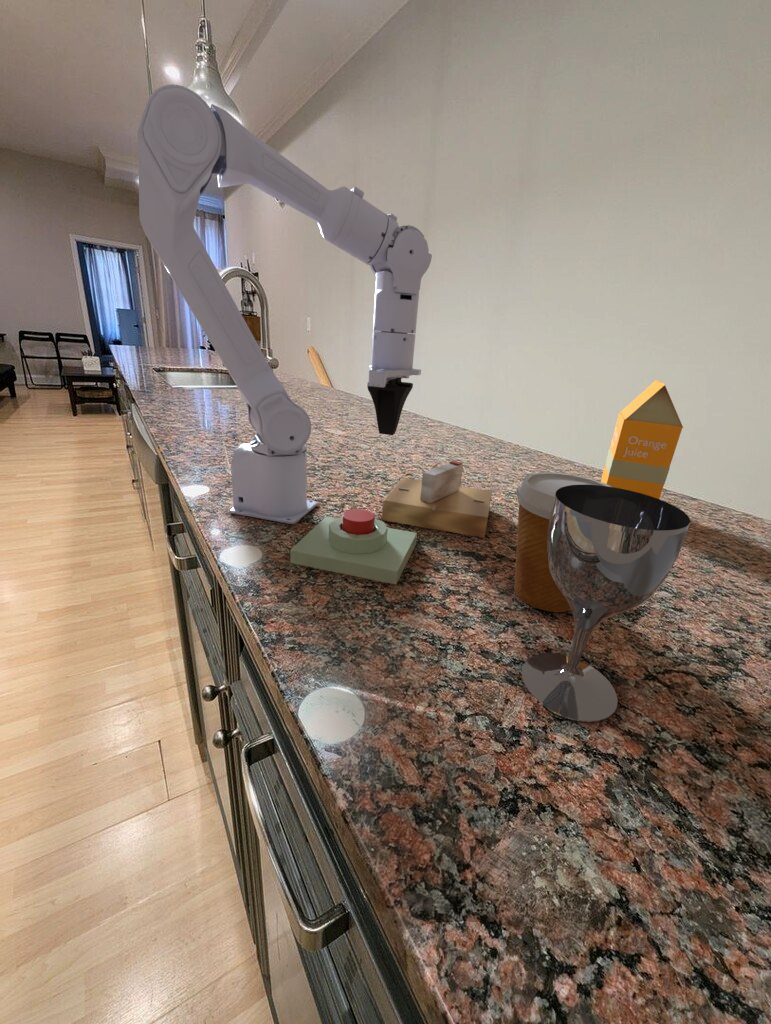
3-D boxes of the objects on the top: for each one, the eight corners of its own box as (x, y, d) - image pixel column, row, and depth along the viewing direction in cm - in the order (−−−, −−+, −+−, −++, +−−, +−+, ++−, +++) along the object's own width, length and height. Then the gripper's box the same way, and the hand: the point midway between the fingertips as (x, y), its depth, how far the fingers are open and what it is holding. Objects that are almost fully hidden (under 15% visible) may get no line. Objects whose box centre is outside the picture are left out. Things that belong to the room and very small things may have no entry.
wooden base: (380, 522, 61) (381, 500, 60) (401, 494, 72) (402, 475, 71) (483, 540, 58) (487, 517, 57) (489, 507, 69) (492, 488, 68)
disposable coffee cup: (604, 630, 41) (641, 511, 37) (499, 612, 43) (522, 496, 38) (583, 579, 50) (611, 477, 45) (496, 566, 52) (515, 466, 47)
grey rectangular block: (430, 503, 60) (434, 473, 59) (419, 500, 61) (422, 470, 60) (459, 490, 66) (463, 462, 64) (449, 487, 67) (453, 460, 65)
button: (337, 532, 50) (338, 518, 49) (348, 520, 53) (349, 507, 52) (368, 538, 49) (369, 523, 48) (377, 525, 52) (378, 512, 51)
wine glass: (501, 650, 38) (536, 482, 32) (590, 650, 39) (639, 486, 33) (538, 728, 30) (592, 528, 25) (647, 725, 31) (723, 532, 26)
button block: (290, 563, 49) (289, 534, 47) (325, 528, 58) (326, 503, 56) (396, 585, 46) (398, 555, 45) (415, 545, 55) (418, 519, 54)
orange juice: (598, 511, 70) (633, 380, 63) (596, 495, 78) (627, 376, 70) (653, 522, 68) (697, 387, 60) (645, 503, 75) (684, 382, 68)
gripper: (411, 334, 52) (402, 448, 57) (433, 335, 65) (423, 427, 70) (354, 330, 54) (350, 441, 59) (386, 331, 67) (380, 422, 72)
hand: (387, 433), depth 65 cm, fingers closed
